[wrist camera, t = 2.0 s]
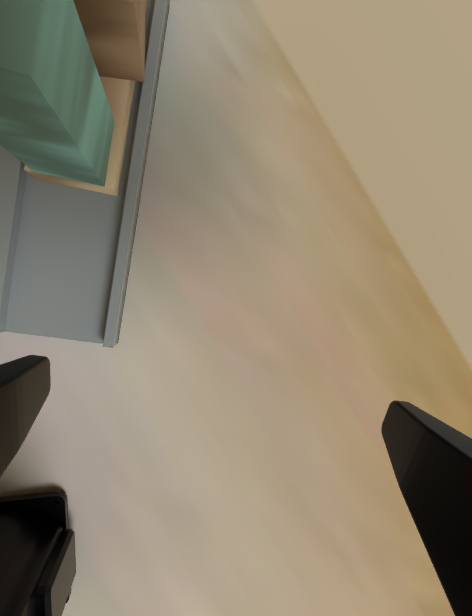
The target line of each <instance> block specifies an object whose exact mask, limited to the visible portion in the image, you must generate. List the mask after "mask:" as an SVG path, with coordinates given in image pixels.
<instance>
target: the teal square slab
mask: <svg viewBox="0 0 472 616" xmlns="http://www.w3.org/2000/svg"><path fill="white" fill-rule="evenodd" d="M146 6H147V0H145V13H146ZM134 86H135V81H132V80H125V79H117V78H109V77H102V76H99V74H98V71H97V68H96V65H95V62H94V59H93V56H92V54H91V51H90V48H89V45H88V42H87V39H86V36H85V33H84V30H83V27H82V24H81V22H80V19H79V16H78V13H77V10H76V7H75V4H74V1H73V0H0V144H1V145H2V146H3V147H4V148H6V149H7V150H8V151H9V152H10V153H12V154H13V155H14V156H15V157H16V158H18V159H19V160H20V161H21V162H22V163H24V164H25V167H24V170H25V171H26V172H28V173H29V174H30V175H32V176H33V177H34V178H35V179H37V180H42V181H47V182H51V183H56V184H61V185H66V186H71V187H76V188H80V189H85V190H90V191H95V192H100V193H105V194H109V195H114V196H118V192H119V186H120V179H121V172H122V166H123V159H124V152H125V146H126V139H127V132H128V126H129V119H130V113H131V106H132V99H133V93H134Z"/></svg>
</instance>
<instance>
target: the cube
mask: <svg viewBox="0 0 472 616" xmlns="http://www.w3.org/2000/svg"><path fill="white" fill-rule="evenodd" d="M73 1H74V4H75V7H76V10H77V13H78V16H79V19H80V22H81V24H82V27H83V30H84V33H85V36H86V39H87V42H88V45H89V48H90V51H91V54H92V56H93V59H94V62H95V65H96V68H97V71H98V74H99V76H102V77H109V78H117V79H125V80H132V81H140V82H145V0H73Z"/></svg>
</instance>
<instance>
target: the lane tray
mask: <svg viewBox="0 0 472 616" xmlns="http://www.w3.org/2000/svg"><path fill="white" fill-rule="evenodd" d="M168 13H169V0H147V6H146V13H145V82H140V81H135V86H134V93H133V99H132V106H131V113H130V119H129V126H128V132H127V139H126V146H125V152H124V159H123V166H122V172H121V179H120V186H119V192H118V196H114V195H109V194H105V193H100V192H95V191H90V190H85V189H80V188H76V187H71V186H66V185H61V184H56V183H51V182H47V181H42V180H37V179H35V178H34V177H33V176H32V175H30V174H29V173H28V172H26V171H25V170H24V167H25V164H24V163H22V162H21V161H20V160H19V159H18V158H16V157H15V156H14V155H13V154H12V153H10V152H9V151H8V150H7V149H6V148H4V147H3V146H2V145H1V144H0V332H3V331H8V332H16V333H23V334H31V335H39V336H47V337H55V338H63V339H71V340H79V341H86V342H94V343H102V344H103V347H111V348H113V347H114V346H115V345H116V344H117V343H118V340H119V333H120V327H121V320H122V314H123V307H124V301H125V294H126V288H127V281H128V275H129V268H130V261H131V255H132V248H133V242H134V235H135V229H136V222H137V216H138V209H139V202H140V196H141V189H142V183H143V176H144V170H145V163H146V157H147V150H148V144H149V137H150V130H151V124H152V117H153V111H154V104H155V98H156V91H157V85H158V78H159V72H160V65H161V58H162V52H163V45H164V39H165V32H166V26H167V19H168Z"/></svg>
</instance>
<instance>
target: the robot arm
mask: <svg viewBox="0 0 472 616" xmlns="http://www.w3.org/2000/svg"><path fill="white" fill-rule="evenodd" d="M50 385H51V384H50V361H49V359H48V358H47V357H45V356H37V355H29V356H26V357H23V358H20V359H16V360H13V361H10V362H7V363H4V364H1V365H0V477H1V476H2V474H3V473H4V471H5V470H6V468H7V467H8V465H9V464H10V462H11V461H12V459H13V458H14V456H15V455H16V453H17V452H18V450H19V449H20V447H21V445H22V443H23V442H24V440H25V438H26V436H27V434H28V432H29V430H30V429H31V427H32V425H33V423H34V421H35V419H36V417H37V415H38V413H39V412H40V410H41V408H42V406H43V404H44V402H45V400H46V398H47V396H48V394H49V391H50ZM382 436H383V439H384V442H385V445H386V448H387V451H388V454H389V457H390V460H391V464H392V467H393V470H394V473H395V476H396V479H397V482H398V485H399V487H400V490H401V492H402V495H403V497H404V499H405V502H406V504H407V506H408V509H409V511H410V513H411V516H412V518H413V520H414V522H415V525H416V527H417V529H418V532H419V534H420V536H421V539H422V541H423V543H424V545H425V548H426V550H427V552H428V555H429V557H430V559H431V562H432V564H433V566H434V569H435V571H436V573H437V575H438V578H439V580H440V582H441V585H442V587H443V589H444V592H445V594H446V596H447V598H448V601H449V603H450V605H451V608H452V610H453V612H454V615H455V616H472V439H471V438H470V437H468V436H466V435H464V434H463V433H461V432H459V431H458V430H456V429H454V428H452V427H451V426H449V425H447V424H445V423H444V422H442V421H440V420H439V419H437V418H435V417H433V416H432V415H430V414H428V413H426V412H425V411H423V410H421V409H419V408H418V407H416V406H414V405H413V404H411V403H409V402H404V401H392V402H391V403H390V405H389V408H388V410H387V413H386V415H385V418H384V421H383V423H382ZM54 500H58V501H59V502H60V504H55V503H54V502H53V501H54ZM75 574H76V558H75V535H74V531H73V530H72V529H71V528H70V529H69V526H68V503H67V496H66V495H65V494H64V493H62V492H49V493H40V494H31V495H22V496H13V497H4V498H0V616H62V613H63V610H64V607H65V604H66V603H67V601H68V600H69V597H70V594H71V586H72V583H73V580H74V577H75Z"/></svg>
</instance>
